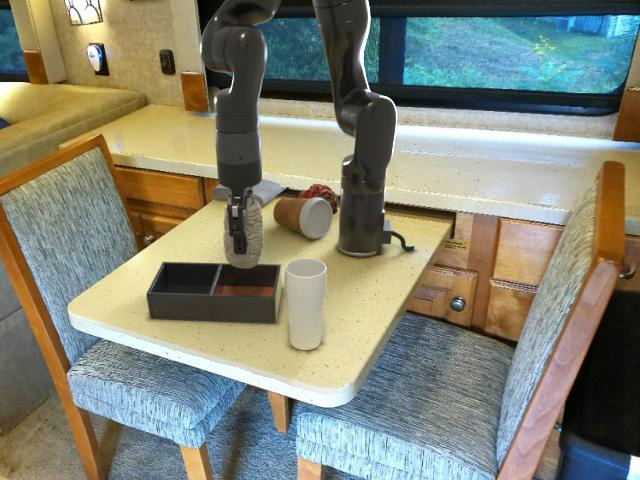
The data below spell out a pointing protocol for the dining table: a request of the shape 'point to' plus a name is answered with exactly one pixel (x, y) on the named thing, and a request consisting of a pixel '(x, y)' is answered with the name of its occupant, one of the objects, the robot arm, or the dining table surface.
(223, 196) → the hip flask
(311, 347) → the drinking glass
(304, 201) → the disposable coffee cup
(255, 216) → the carving
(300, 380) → the dining table surface
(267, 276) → the storage box with compartments
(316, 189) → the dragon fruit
